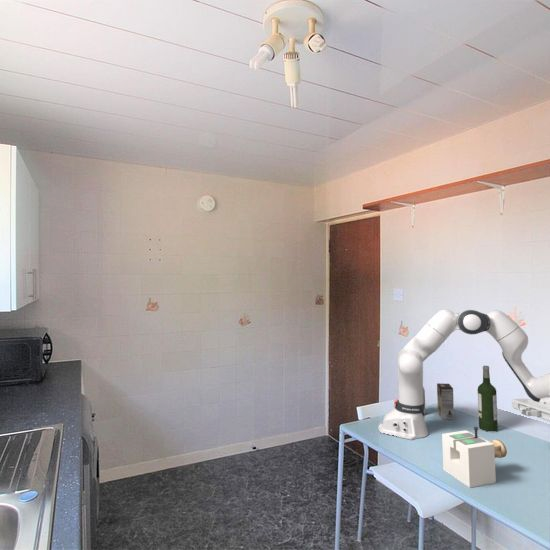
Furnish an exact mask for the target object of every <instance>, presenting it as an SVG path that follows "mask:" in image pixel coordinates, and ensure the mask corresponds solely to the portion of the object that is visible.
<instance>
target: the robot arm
mask: <svg viewBox="0 0 550 550" xmlns="http://www.w3.org/2000/svg"><path fill="white" fill-rule="evenodd" d="M457 330H459V331H461V332H463V333H465V334H467V335H478V334H481V333H483V332H486V333H487V334H489V335H490V336H491V337H492V338H493V339H494V340H495V341H496V342H497V344H498V345H499V346H500V348H501V351H502V353H501V355H502V356H503V359H504V361H505V363H506V364H507V366H508V367H509V369H511V371H512V373H513V374H514V375H515V376H516V378H517V379H518V381H519V382H520V384H521V385H522V387H523V390H524V391H525V393H526V395H527V396H528V397H529V399H528V398H513V399H512V401H511V403H512V404H511V406H512V408H513V409H514V410H517V411H520V414H521V415H523V416H527V417H536V418H538V419H539V418H540V419H542V420H544V421H547V422H550V372H549V373H547V374H543V375H542V376H539V377H535V376H534V375H533V374H532V373H531V371H530V370H529V368H528V367H527V365H526V364H525V363H524V361H523V359H522V357H523V356H522V355H523V353H524V352H525V350H526V349H527V347H528V344H529V337H528V334H527V333H526V332H525V330H523V329H522V327H521V326H520V325H519V324H518V323H517V322H515V321H514V320H513V318H511V317H510V316H509V315H507V314H506V313H505V312H503V311H501V310H498V309H497V310H492V311H489V312H488V313H483V312H480V311H477V310H475V309H466V310H462V311H461V312H457V313H454V312H453V311H452V310H449V309H446V308H444V309H440V310H439V311H437V312H436V313H435V314H434V315H432V317H430V318H429V319H428V320H427V322H426V323H425V324H424V325H423V326H422V328H421V329H420V330H419V331H418V332H417V333H416V334H415V335H414V337H412V338H411V339H410V340H409V341H408V342H407V343H406V344H405V345H404V347H402V348H401V350H399V352H398V353H397V383H398V384H397V386H398V390H397V391H398V392H397V393H398V398H395V399H394V400H393V401H394V404H393V405H394V408H393V409H391V410H389V411H388V412H386V413H385V415H384V416H383V420H382V422H380V423H379V424H378V426H377V427H378V428H377V429H378V430H379V431H380V432H381V433H380V432H379V431H378V432H379V433H380V434H383V433H385V434H384V435H387V434H389V435H388V436H392V435H394V436H393V437H396V436H397V437H396V438H400V439H401V438H402V439H406V440H410V441H411V440H412V441H414V440H416V439H420V438H422V439H423V438H425V437H428V436H429V432H428V429H427V423H426V419H425V418H426V417H425V414H426V405H425V406H424V402H423V388H424V361H426V360H427V359H428V358H429V357H430V356H431V355H432V354H434V353H435V352H436V351H438V349H439V348H440V347H441V346H442V345H443V343H444V342H445V341H446V340H447V339H448V338H449V337H450V335H451V334H452V333H454V332H455V331H457ZM382 423H383V424H382Z"/></svg>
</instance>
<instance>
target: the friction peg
mask: <svg viewBox="0 0 550 550" xmlns="http://www.w3.org/2000/svg"><path fill="white" fill-rule="evenodd" d="M473 430H474V434H475V438H479V436H478V430H479V427H477V426H474V427H473ZM477 436H478V437H477ZM490 442H491V443H493V444H494V452H495V459H496V458H499V459H502V458H505V457H507V454H508V451H507V447H506V445H505V444H504V442H502V441H501V440H500V439H494V440H491V441H490Z"/></svg>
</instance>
